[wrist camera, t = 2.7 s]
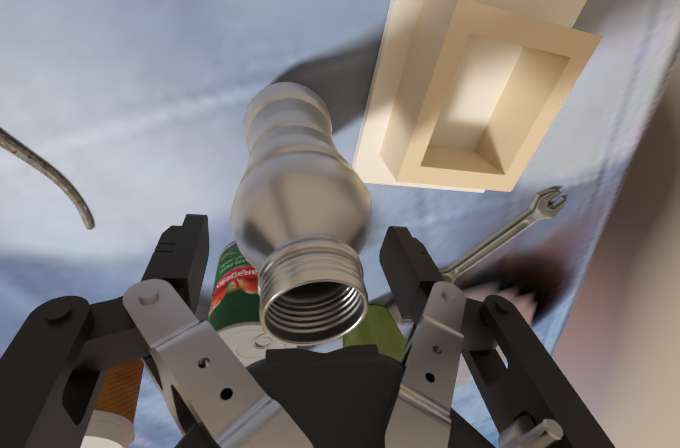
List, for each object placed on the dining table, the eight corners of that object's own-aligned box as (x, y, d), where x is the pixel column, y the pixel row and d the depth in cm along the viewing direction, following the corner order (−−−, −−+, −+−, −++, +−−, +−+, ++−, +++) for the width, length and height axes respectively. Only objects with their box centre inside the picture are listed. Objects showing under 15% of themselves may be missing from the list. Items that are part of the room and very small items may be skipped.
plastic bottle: (228, 99, 24) (157, 303, 9) (305, 58, 24) (377, 203, 8) (271, 165, 28) (275, 386, 13) (338, 131, 28) (430, 324, 12)
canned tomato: (259, 295, 39) (256, 384, 30) (203, 267, 34) (180, 361, 26) (304, 259, 36) (315, 345, 28) (250, 224, 32) (243, 312, 23)
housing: (407, -69, 20) (448, -85, 16) (583, -13, 24) (659, -12, 19) (349, 176, 30) (363, 211, 26) (479, 188, 34) (512, 220, 30)
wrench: (563, 201, 39) (570, 206, 38) (434, 292, 45) (437, 298, 44) (550, 180, 36) (557, 185, 35) (416, 279, 43) (419, 285, 42)
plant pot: (409, 286, 43) (445, 364, 34) (399, 335, 50) (426, 410, 41) (324, 298, 41) (339, 384, 32) (326, 347, 48) (339, 428, 40)
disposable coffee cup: (152, 366, 43) (120, 471, 34) (68, 357, 39) (6, 474, 30) (170, 326, 39) (139, 434, 30) (79, 311, 35) (10, 431, 26)
